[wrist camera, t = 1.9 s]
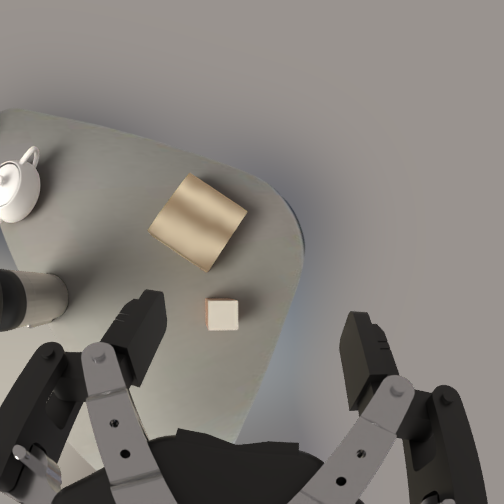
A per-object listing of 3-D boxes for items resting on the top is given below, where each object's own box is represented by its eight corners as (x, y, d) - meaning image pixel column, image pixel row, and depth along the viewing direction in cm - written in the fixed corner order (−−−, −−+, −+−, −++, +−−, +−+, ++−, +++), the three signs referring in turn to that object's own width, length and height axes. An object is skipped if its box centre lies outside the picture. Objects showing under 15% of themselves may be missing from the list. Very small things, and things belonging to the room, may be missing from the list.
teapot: (32, 145, 49) (13, 125, 39) (64, 172, 51) (45, 152, 41) (-17, 222, 45) (-42, 212, 34) (12, 255, 47) (-15, 250, 36)
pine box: (206, 272, 56) (208, 271, 50) (151, 235, 55) (147, 230, 49) (241, 218, 59) (247, 211, 53) (188, 183, 57) (189, 172, 51)
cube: (231, 323, 56) (238, 329, 48) (205, 323, 55) (208, 330, 47) (231, 298, 56) (238, 300, 49) (205, 298, 55) (208, 300, 48)
